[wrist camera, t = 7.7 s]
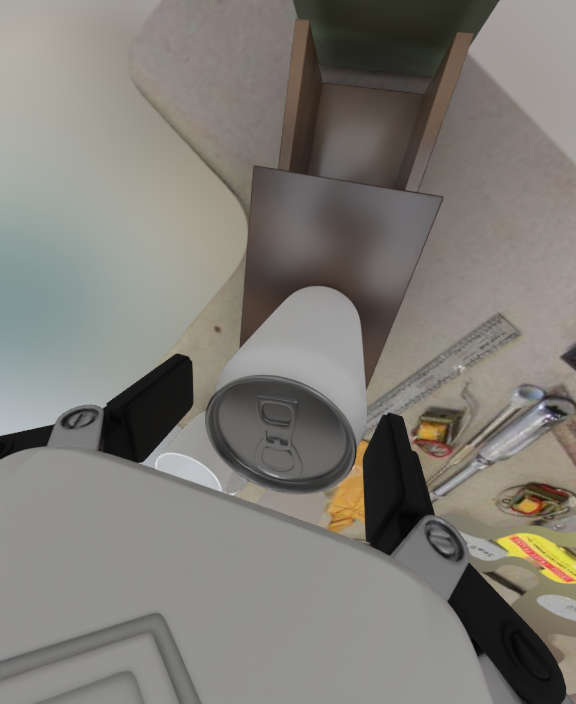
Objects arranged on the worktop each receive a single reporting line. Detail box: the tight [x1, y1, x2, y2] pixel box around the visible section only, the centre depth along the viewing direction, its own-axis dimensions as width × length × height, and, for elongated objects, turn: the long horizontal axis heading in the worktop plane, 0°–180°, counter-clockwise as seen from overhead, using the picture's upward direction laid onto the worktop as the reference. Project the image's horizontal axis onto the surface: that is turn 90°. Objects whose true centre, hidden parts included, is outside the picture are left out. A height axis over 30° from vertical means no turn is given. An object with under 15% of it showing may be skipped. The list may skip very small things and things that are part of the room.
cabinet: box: [239, 166, 443, 390], centre depth 22 cm, size 15×12×10 cm
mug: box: [155, 410, 247, 495], centre depth 35 cm, size 12×9×12 cm
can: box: [205, 286, 367, 494], centre depth 14 cm, size 6×6×12 cm
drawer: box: [278, 0, 499, 192], centre depth 17 cm, size 18×10×8 cm, turn 170°
